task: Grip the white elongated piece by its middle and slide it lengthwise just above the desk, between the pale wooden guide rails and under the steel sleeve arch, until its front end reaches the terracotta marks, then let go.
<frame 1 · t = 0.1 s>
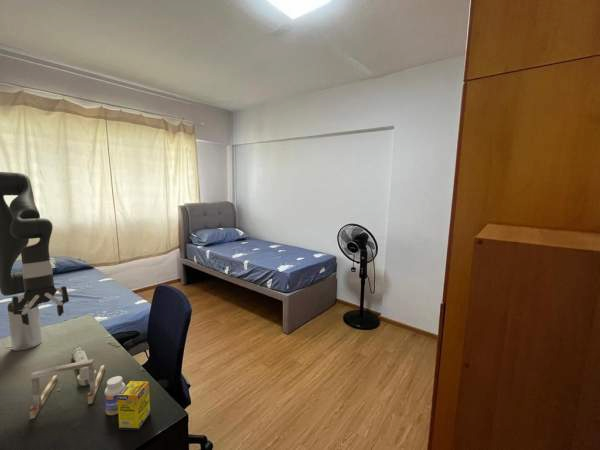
hand: (44, 319, 95), 22 cm above the table, tool pointing down, fingers open, 8 cm apart
white elongated piece: (83, 370, 103), on the table
sleeve guide: (72, 391, 91), on the table
pill bottle: (116, 409, 84), on the table
supplement box: (135, 422, 80), on the table
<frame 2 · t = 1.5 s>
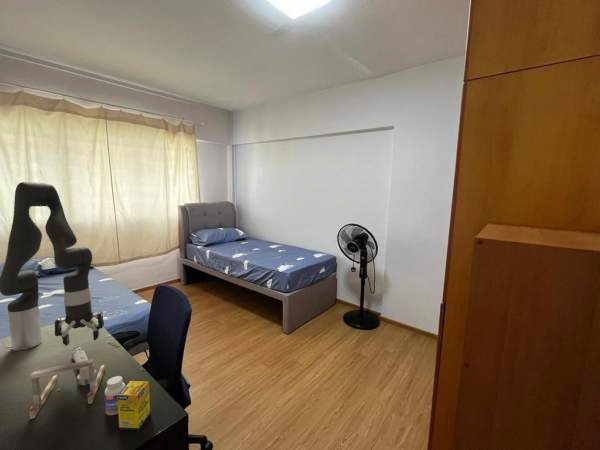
hand: (81, 341, 102), 11 cm above the table, tool pointing down, fingers open, 8 cm apart
nothing on the table moved.
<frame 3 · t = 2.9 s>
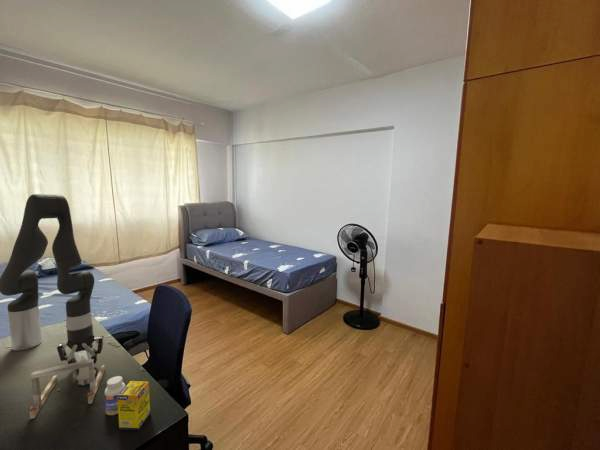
hand: (83, 366, 103), 1 cm above the table, tool pointing down, fingers closed on white elongated piece, 6 cm apart
white elongated piece: (83, 369, 103), on the table, touching gripper
everything else where it was.
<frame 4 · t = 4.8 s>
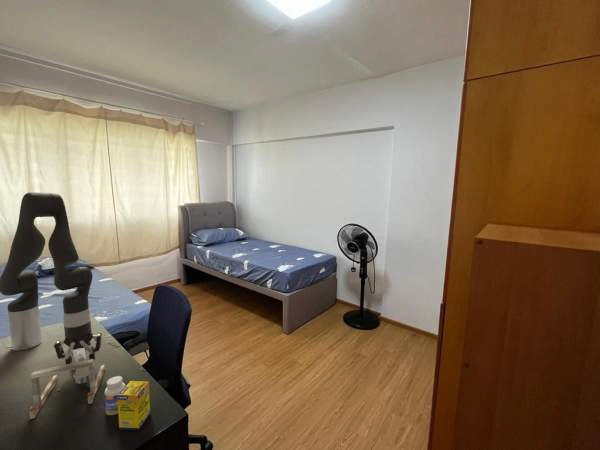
hand: (81, 364, 100), 4 cm above the table, tool pointing down, fingers closed on white elongated piece, 5 cm apart
white elongated piece: (81, 367, 100), point 2 cm above the table, touching gripper
everything else where it was.
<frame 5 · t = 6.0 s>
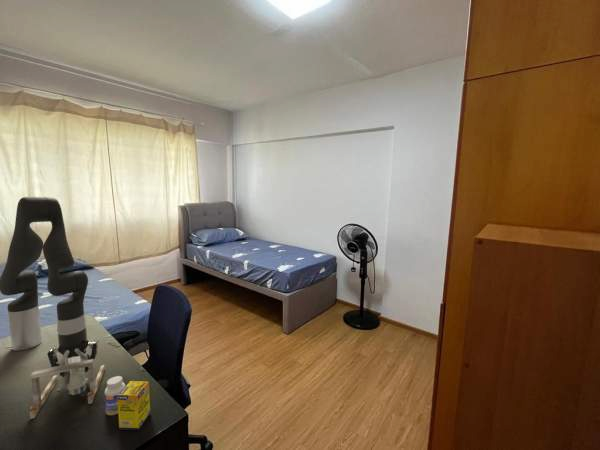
hand: (75, 373, 95), 3 cm above the table, tool pointing down, fingers closed on white elongated piece, 5 cm apart
white elongated piece: (76, 376, 96), point 2 cm above the table, touching gripper
everything else where it was.
when the fingers open (1 cm above the table, at t = 7.0 s): white elongated piece stays where it is, on the table.
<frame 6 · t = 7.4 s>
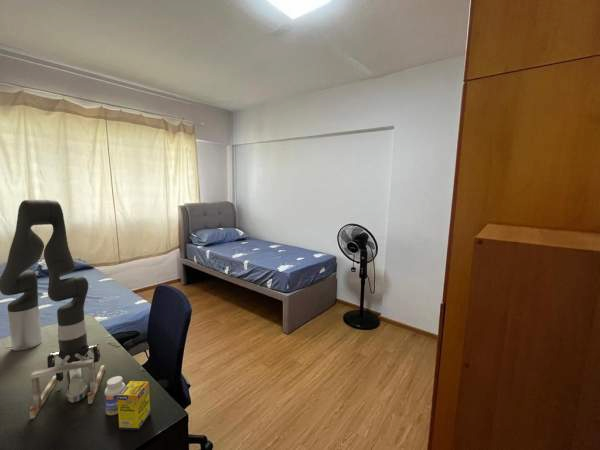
hand: (76, 376, 95), 2 cm above the table, tool pointing down, fingers open, 8 cm apart
white elongated piece: (76, 383, 96), on the table
everything else where it was.
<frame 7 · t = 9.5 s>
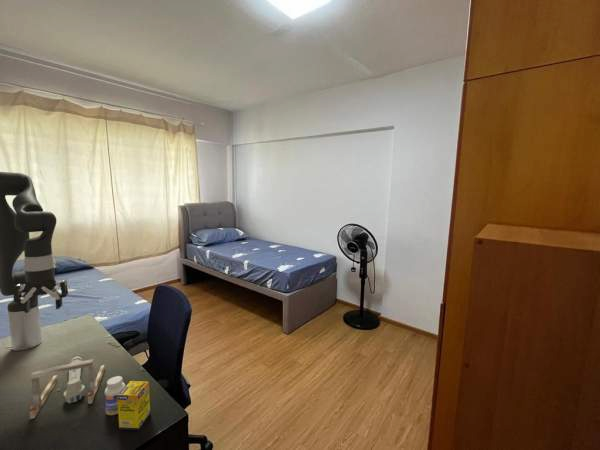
hand: (43, 310, 98), 25 cm above the table, tool pointing down, fingers open, 8 cm apart
nothing on the table moved.
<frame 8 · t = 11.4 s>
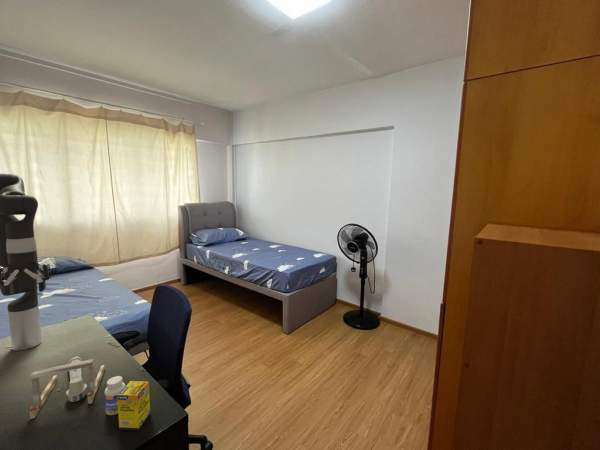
hand: (26, 292, 99), 30 cm above the table, tool pointing down, fingers open, 8 cm apart
nothing on the table moved.
at the end: white elongated piece inside the target area (0.4 cm from its centre), on the table; white elongated piece moved 7.5 cm from its start; the gripper is holding nothing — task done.
